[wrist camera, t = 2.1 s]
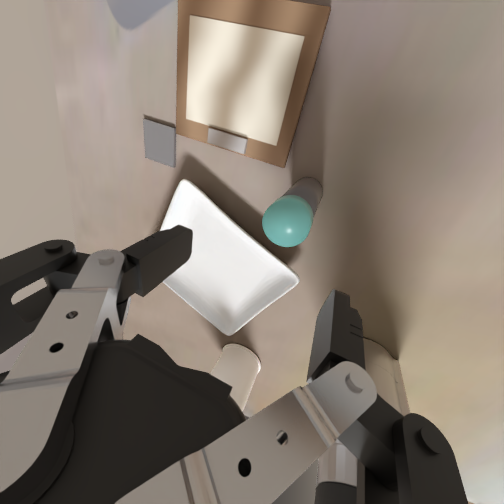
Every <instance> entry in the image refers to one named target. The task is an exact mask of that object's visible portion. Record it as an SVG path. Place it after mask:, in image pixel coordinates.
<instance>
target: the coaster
mask: <svg viewBox="0 0 504 504" xmlns="http://www.w3.org/2000/svg"><path fill="white" fill-rule="evenodd" d="M143 125H144V142H145V158H148V159H151V160H154V161H156V162H159V163H162V164H165V165H168V166H170V167H173V168H174V167H175V159H176V128H173V127H170V126H167V125H164V124H160V123H157V122H154V121H151V120H148V119H143Z"/></svg>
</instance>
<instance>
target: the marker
mask: <svg viewBox="0 0 504 504" xmlns="http://www.w3.org/2000/svg"><path fill="white" fill-rule="evenodd" d="M322 194H323V190H322V186H321V184H320V183H319V182H318V181H317V180H316V179H314V178H310V177H306V178H302V179H300V180H299V181H297V182H296V183H295V184H294V185H293V186H292V187H291V188H290V189H289V190H288V191H287V192H286V193H285V194H284V195H283V196H282V197H280V198H279V199H277V200H276V201H275V202H274V203H273V204H272V205H271V206H270V207H269V208H268V209H267V210H266V211H265V213H264V216H263V220H262V226H263V230H264V232H265V234H266V236H267V237H268V238H269V239H270V240H271V241H272V242H273V243H275V244H277V245H279V246H283V247H293V246H296V245H298V244H300V243H301V242H303V241H304V240H305V239H306V237H307V235H308V233H309V231H310V228H311V226H312V223H313V217H314V215H315V212H316V210H317V208H318V205H319V203H320V200H321V198H322Z"/></svg>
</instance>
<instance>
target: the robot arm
mask: <svg viewBox="0 0 504 504" xmlns="http://www.w3.org/2000/svg"><path fill="white" fill-rule="evenodd" d="M192 240H193V231H192V230H191V229H189V228H187V227H184V226H182V225H177V226H175V227H173V228H171V229H166V230H162V231H158V232H156V233H154V234H152V235H151V236H149V237H147V238H145V239H144V240H141V241H139V242H137V243H135V244H133V245H131V246H130V247H128V248H126V249H124V250H122V251H117V250H101V251H97V252H95V253H93V254H91V255H90V254H85V253H79V252H76V249H75V246H74V244H73V243H72V242H70V241H67V240H51V241H46V242H43V243H40V244H38V245H35V246H33V247H30V248H28V249H25V250H23V251H20V252H18V253H15V254H13V255H10V256H8V257H5V258H3V259H0V354H2V353H3V352H5V351H6V350H7V349H9V348H10V347H12V346H13V345H15V344H16V343H18V342H19V341H20V340H22V339H23V338H25V337H26V336H28V335H29V334H31V333H32V332H33V334H32V335H31V337H30V339H29V340H28V342H27V344H26V345H25V347H24V349H23V350H22V352H21V354H20V355H19V357H18V359H17V360H16V362H15V364H14V365H13V367H12V369H11V370H10V371H7V372H4V373H1V374H0V504H271V503H272V502H273V501H275V500H276V499H277V498H278V497H279V496H280V495H281V494H282V493H283V492H284V491H285V490H286V489H287V488H288V487H289V486H290V485H291V484H292V483H293V482H294V481H295V480H296V479H297V478H298V477H299V476H300V475H301V474H302V473H304V472H305V470H307V469H308V468H309V467H310V466H311V465H312V464H313V463H314V462H315V461H316V460H317V459H318V458H319V461H318V472H317V484H316V496H315V504H468V501H467V498H466V494H465V491H464V487H463V484H462V480H461V477H460V473H459V470H458V466H457V463H456V459H455V456H454V453H453V450H452V448H451V446H450V444H449V443H448V441H447V440H446V438H445V437H444V435H443V434H442V433H441V432H440V430H439V429H438V428H437V427H436V426H435V425H434V424H433V423H431V422H430V421H429V420H428V419H426V418H424V417H423V416H421V415H418V414H415V413H410V410H409V405H408V401H407V396H406V392H405V387H404V383H403V378H402V374H401V369H400V364H399V361H398V360H396V359H394V358H392V357H391V356H390V354H389V353H388V351H387V350H386V349H385V348H384V347H382V346H381V345H379V344H378V343H376V342H373V341H371V340H368V339H365V338H363V331H362V330H363V328H362V319H361V317H360V315H359V313H358V311H357V310H355V309H353V308H351V307H350V296H349V295H347V294H345V293H342V292H340V291H337V290H335V289H333V290H332V291H331V293H330V295H329V296H328V298H327V300H326V301H325V303H324V305H323V306H322V308H321V310H320V312H319V314H318V317H317V321H316V326H315V332H314V338H313V344H312V350H311V357H310V363H309V369H308V375H307V381H306V382H307V383H309V384H308V385H306V386H305V387H303V388H302V387H301V386H300V387H297V388H295V389H293V390H292V391H290V392H289V393H287V394H286V395H284V396H283V397H281V398H280V399H278V400H277V401H275V402H273V403H272V404H270V405H269V406H267V407H266V408H264V409H263V410H261V411H260V412H258V413H257V414H255V415H254V416H252V417H250V418H249V419H247V420H246V419H245V417H244V414H243V412H242V411H241V409H240V407H239V406H238V404H237V403H236V402H235V400H234V399H233V398H232V397H231V396H230V393H231V390H232V386H230V385H228V384H227V383H225V382H223V381H221V380H219V379H218V378H216V377H214V376H212V375H211V374H209V373H206V372H202V371H198V370H193V369H189V368H185V367H181V366H178V365H177V364H176V363H175V362H174V361H173V360H172V359H171V358H170V357H169V356H168V355H167V353H166V352H165V351H164V350H163V349H162V348H161V347H160V346H159V345H157V344H155V343H154V342H152V341H150V340H148V339H146V338H145V337H143V336H141V335H139V334H137V335H136V336H135V337H134V338H133V339H132V340H123V333H124V327H125V323H126V319H127V315H128V310H129V306H130V302H131V295H133V294H134V293H136V294H138V295H140V296H142V297H144V296H145V295H147V294H148V293H149V292H150V291H151V290H153V289H154V288H155V287H156V286H158V285H159V284H160V283H161V282H163V281H164V280H165V279H166V278H167V277H169V276H170V275H171V274H172V273H174V272H175V271H176V270H177V269H179V268H180V267H181V266H182V265H184V264H185V263H186V262H187V261H188V260H189V258H190V256H191V253H192ZM41 278H44V280H45V282H46V284H47V287H45V288H43V289H41V290H39V291H38V292H36V293H34V294H32V295H30V296H29V297H27V298H25V299H23V300H21V301H20V302H18V303H16V304H14V305H12V303H11V298H12V296H13V295H14V293H16V292H17V291H18V290H20V289H22V288H24V287H26V286H28V285H29V284H31V283H33V282H35V281H37V280H39V279H41Z"/></svg>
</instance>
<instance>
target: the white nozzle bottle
mask: <svg viewBox="0 0 504 504" xmlns="http://www.w3.org/2000/svg"><path fill="white" fill-rule="evenodd" d="M260 369H261V363H260V361H259V359H258V357H257V356H256V355H255V354H254V353H253V352H252V351H251V350H249V349H248V348H246V347H244V346H242V345H239V344H227V345H225V346H224V347H223V349H222V353H221V355H220V357H219V359H218V360H217V362H216V364H215V366H214V367H213V369H212V371H211V373H210V374H211V375H212V376H214V377H216V378H218V379H219V380H221V381H223V382H225V383H227V384H228V385H230V386H232V390H231V393H230V396H231V397H232V398H233V399H234V400H235V402H236V403H237V404H238V406H239V407H240V409H241V411H242V412H243V410H244V408H245V405H246V402H247V400H248V397H249V394H250V392H251V389H252V386H253V384H254V381H255V378H256V376H257V373H258V372H259V371H260Z"/></svg>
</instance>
